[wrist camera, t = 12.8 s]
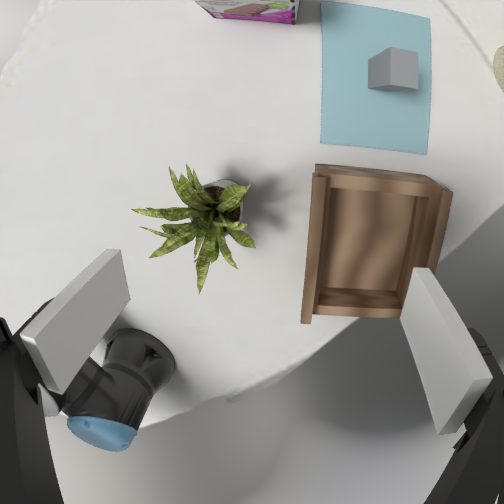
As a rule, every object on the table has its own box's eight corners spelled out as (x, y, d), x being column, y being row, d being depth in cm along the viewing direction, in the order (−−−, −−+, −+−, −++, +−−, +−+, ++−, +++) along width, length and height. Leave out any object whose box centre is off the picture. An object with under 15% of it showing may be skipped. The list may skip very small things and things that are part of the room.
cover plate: (320, 142, 41) (327, 157, 30) (320, 3, 32) (327, -29, 21) (423, 153, 39) (461, 173, 28) (427, 20, 30) (464, -1, 19)
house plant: (219, 118, 41) (176, 128, 26) (298, 182, 43) (297, 226, 29) (163, 194, 47) (107, 239, 32) (235, 251, 49) (207, 317, 35)
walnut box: (301, 290, 51) (300, 323, 43) (311, 163, 42) (313, 177, 35) (404, 296, 49) (417, 327, 41) (429, 175, 40) (453, 192, 32)
